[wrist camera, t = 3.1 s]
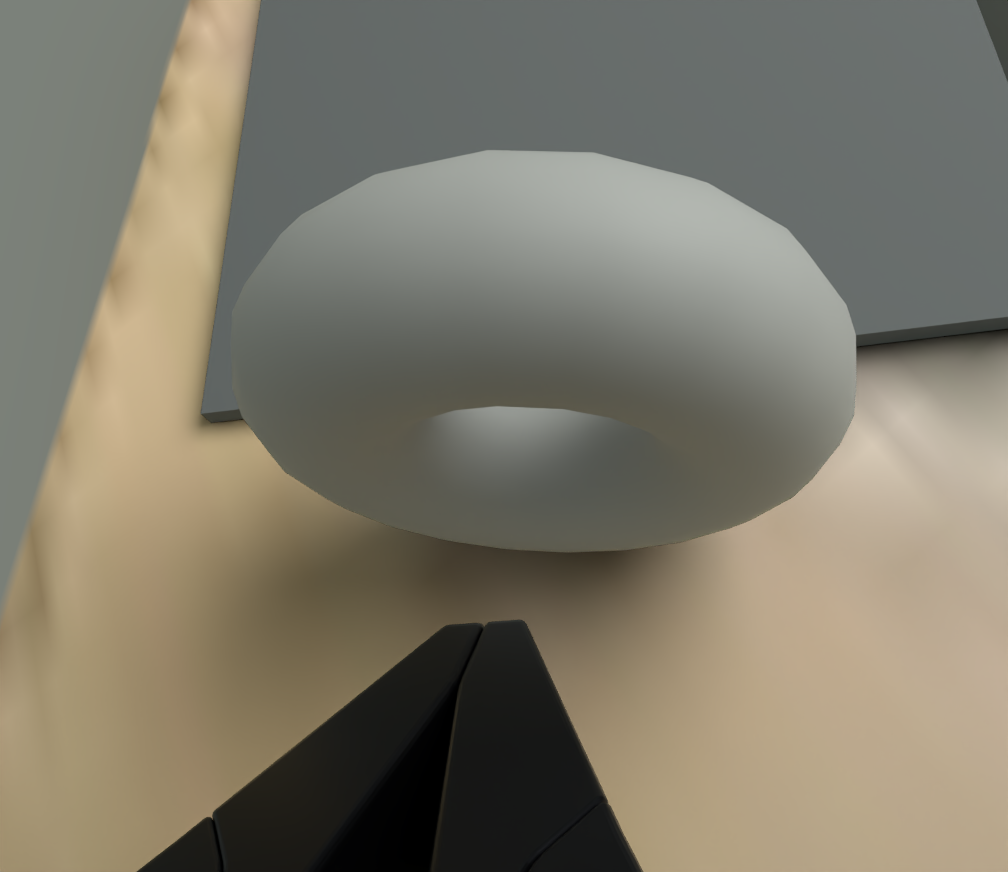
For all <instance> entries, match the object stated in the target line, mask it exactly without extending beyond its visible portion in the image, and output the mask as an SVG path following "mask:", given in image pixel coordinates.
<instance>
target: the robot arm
mask: <svg viewBox="0 0 1008 872" xmlns="http://www.w3.org/2000/svg"><path fill="white" fill-rule="evenodd" d="M212 817H213V819H212V818H210V817H206V818H204V819H203V820H202V821H201V822H199V823H198V824H197V825H196V826H194V827H193V828H192V829H191V830H189V831H188V832H187V833H186V834H184V835H183V836H182V837H181V838H179V839H178V840H177V841H176V842H174V843H173V844H172V845H171V846H169V847H168V848H167V849H165V850H164V851H163V852H162V853H160V854H159V855H158V856H156V857H155V858H154V859H152V860H151V861H150V862H149V863H147V864H146V865H145V866H143V867H142V868H141V869H139V870H138V871H137V872H643V870H642V868H641V866H640V865H639V863H638V861H637V859H636V857H635V855H634V853H633V851H632V849H631V847H630V845H629V843H628V841H627V840H626V838H625V836H624V834H623V832H622V830H621V827H620V825H619V823H618V821H617V819H616V817H615V814H614V812H613V810H612V808H611V806H610V805H609V804H608V800H607V798H606V796H605V794H604V792H603V789H602V787H601V785H600V783H599V781H598V779H597V776H596V774H595V772H594V770H593V768H592V766H591V763H590V761H589V759H588V757H587V755H586V752H585V750H584V748H583V746H582V744H581V742H580V739H579V737H578V735H577V733H576V731H575V729H574V726H573V724H572V722H571V720H570V718H569V715H568V713H567V711H566V709H565V707H564V705H563V702H562V700H561V698H560V696H559V694H558V691H557V689H556V687H555V685H554V683H553V681H552V678H551V676H550V674H549V672H548V670H547V668H546V665H545V663H544V661H543V659H542V657H541V654H540V652H539V650H538V648H537V646H536V644H535V641H534V639H533V637H532V635H531V633H530V631H529V628H528V626H527V624H526V623H525V622H524V621H522V620H509V621H495V622H489V623H487V624H486V625H485V627H484V626H483V625H482V624H480V623H468V624H454V625H447V626H445V627H443V628H442V629H440V630H439V631H438V632H437V633H435V634H434V635H433V636H432V637H430V638H429V639H428V640H427V641H425V642H424V643H423V644H422V645H420V646H419V647H418V648H417V649H415V650H414V651H413V652H412V653H410V654H409V655H408V656H407V657H405V658H404V659H403V660H402V661H400V662H399V663H398V664H397V665H395V666H394V667H393V668H392V669H390V670H389V671H388V672H387V673H385V674H384V675H383V676H382V677H380V678H379V679H378V680H377V681H375V682H374V683H373V684H372V685H370V686H369V687H368V688H367V689H366V690H364V691H363V692H362V693H361V694H359V695H358V696H357V697H356V698H354V699H353V700H352V701H351V702H349V703H348V704H347V705H346V706H344V707H343V708H342V709H341V710H339V711H338V712H337V713H336V714H334V715H333V716H332V717H331V718H329V719H328V720H327V721H326V722H324V723H323V724H322V725H321V726H319V727H318V728H317V729H316V730H314V731H313V732H312V733H311V734H309V735H308V736H307V737H306V738H304V739H303V740H302V741H301V742H299V743H298V744H297V745H296V746H294V747H293V748H292V749H291V750H289V751H288V752H287V753H286V754H284V755H283V756H282V757H281V758H279V759H278V760H277V761H276V762H274V763H273V764H272V765H271V766H269V767H268V768H267V769H266V770H264V771H263V772H262V773H261V774H259V775H258V776H257V777H256V778H254V779H253V780H252V781H251V782H250V783H248V784H247V785H246V786H245V787H243V788H242V789H241V790H240V791H238V792H237V793H236V794H235V795H233V796H232V797H231V798H230V799H228V800H227V801H226V802H225V803H223V804H222V805H221V806H220V807H218V808H217V809H216V810H215V811H214V812H213V815H212Z"/></svg>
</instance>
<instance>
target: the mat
mask: <svg viewBox="0 0 1008 872" xmlns="http://www.w3.org/2000/svg"><path fill="white" fill-rule="evenodd" d="M486 150H510V151H553V152H594V153H598V154H602V155H605V156H609V157H613V158H617V159H621V160H625V161H629V162H633V163H637V164H641V165H645V166H648V167H652V168H656V169H660V170H664V171H668V172H672V173H676V174H680V175H684V176H688V177H691V178H694V179H697V180H700V181H703V182H707V183H709V184H711V185H712V186H714V187H716V188H718V189H719V190H721V191H723V192H725V193H726V194H728V195H730V196H731V197H733V198H735V199H737V200H738V201H740V202H742V203H744V204H745V205H747V206H749V207H750V208H752V209H754V210H756V211H757V212H759V213H761V214H763V215H764V216H766V217H768V218H769V219H771V220H773V221H775V222H776V223H778V224H780V225H782V226H783V227H785V228H787V229H788V230H789V232H790V233H791V234H792V235H793V236H794V237H795V239H796V240H797V241H798V242H799V243H800V244H801V245H802V247H803V248H804V249H805V250H806V251H807V253H808V254H809V255H810V257H811V258H812V259H813V261H814V262H815V263H816V265H817V266H818V267H819V269H820V270H821V271H822V273H823V274H824V275H825V277H826V278H827V279H828V281H829V282H830V284H831V285H832V286H833V288H834V289H835V290H836V292H837V293H838V294H839V296H840V297H841V298H842V300H843V301H844V302H845V304H846V305H847V308H848V311H849V314H850V318H851V321H852V324H853V327H854V330H855V334H856V346H864V345H873V344H881V343H890V342H898V341H907V340H915V339H924V338H932V337H941V336H949V335H957V334H966V333H974V332H983V331H991V330H1000V329H1008V82H1007V80H1006V77H1005V74H1004V72H1003V69H1002V66H1001V64H1000V61H999V59H998V56H997V53H996V51H995V48H994V46H993V43H992V40H991V38H990V35H989V33H988V30H987V27H986V25H985V22H984V20H983V17H982V14H981V12H980V9H979V6H978V4H977V1H976V0H261V5H260V12H259V19H258V26H257V33H256V40H255V46H254V53H253V60H252V67H251V74H250V81H249V88H248V94H247V101H246V108H245V115H244V122H243V129H242V135H241V142H240V149H239V156H238V163H237V170H236V177H235V183H234V190H233V197H232V204H231V211H230V218H229V224H228V231H227V238H226V245H225V252H224V259H223V266H222V272H221V279H220V286H219V293H218V300H217V307H216V313H215V320H214V327H213V334H212V341H211V348H210V354H209V361H208V368H207V375H206V382H205V389H204V396H203V402H202V409H201V414H202V415H203V416H204V417H205V418H206V419H207V420H209V421H210V422H211V423H212V422H221V421H229V420H238V419H243V418H242V416H241V413H240V410H239V407H238V404H237V401H236V398H235V395H234V392H233V389H232V362H231V329H232V311H233V309H234V307H235V304H236V302H237V300H238V298H239V295H240V293H241V291H242V289H243V286H244V284H245V283H246V281H247V280H248V278H249V277H250V276H251V274H252V273H253V272H254V270H255V269H256V267H257V266H258V265H259V263H260V262H261V260H262V259H263V258H264V256H265V255H266V254H267V252H268V251H269V249H270V248H271V247H272V245H273V244H274V242H275V241H276V240H277V238H278V237H279V235H280V234H281V233H282V232H283V231H284V230H285V229H287V228H288V227H289V226H290V225H291V224H292V223H293V222H294V221H295V220H296V219H297V218H298V217H299V216H300V215H302V214H303V213H305V212H307V211H309V210H311V209H313V208H314V207H316V206H318V205H320V204H322V203H323V202H325V201H327V200H329V199H331V198H333V197H334V196H336V195H338V194H340V193H342V192H343V191H345V190H347V189H349V188H351V187H353V186H354V185H356V184H358V183H360V182H362V181H363V180H365V179H367V178H369V177H371V176H373V175H375V174H379V173H383V172H387V171H392V170H396V169H401V168H405V167H410V166H415V165H420V164H424V163H429V162H434V161H438V160H443V159H448V158H453V157H457V156H462V155H467V154H471V153H476V152H481V151H486Z"/></svg>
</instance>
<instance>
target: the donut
mask: <svg viewBox="0 0 1008 872" xmlns="http://www.w3.org/2000/svg"><path fill="white" fill-rule="evenodd" d="M231 362H232V389H233V392H234V395H235V398H236V401H237V404H238V407H239V410H240V413H241V416H242V418H243V419H244V420H245V422H246V423H247V424H248V425H249V427H250V428H251V429H252V431H253V432H254V433H255V435H256V436H257V437H258V439H259V440H260V441H261V443H262V444H263V445H264V447H265V448H266V449H267V451H268V452H269V453H270V454H271V456H272V457H273V458H274V459H275V460H276V462H277V463H278V464H279V465H280V467H281V468H282V469H283V470H284V471H285V472H286V473H287V474H289V475H290V476H292V477H293V478H295V479H297V480H298V481H300V482H301V483H303V484H304V485H306V486H307V487H309V488H311V489H312V490H314V491H315V492H317V493H318V494H320V495H321V496H323V497H325V498H326V499H328V500H330V501H332V502H334V503H335V504H337V505H339V506H341V507H343V508H345V509H347V510H350V511H352V512H355V513H358V514H360V515H363V516H365V517H368V518H370V519H373V520H375V521H378V522H380V523H383V524H386V525H388V526H391V527H394V528H398V529H402V530H406V531H410V532H414V533H418V534H422V535H426V536H430V537H434V538H438V539H442V540H446V541H453V542H460V543H466V544H473V545H480V546H487V547H494V548H501V549H512V550H530V551H548V552H591V551H619V550H630V549H637V548H645V547H652V546H659V545H666V544H673V543H680V542H684V541H687V540H691V539H694V538H698V537H701V536H705V535H708V534H712V533H715V532H718V531H722V530H725V529H729V528H732V527H734V526H737V525H740V524H742V523H745V522H748V521H750V520H752V519H754V518H756V517H757V516H759V515H761V514H763V513H765V512H767V511H768V510H770V509H772V508H774V507H776V506H778V505H780V504H781V503H783V502H785V501H787V500H789V499H791V498H792V497H794V496H795V495H796V494H797V493H798V492H799V491H800V490H801V489H802V488H803V487H804V486H805V485H806V484H808V483H809V482H810V481H811V480H812V479H813V478H814V476H815V475H816V474H817V473H818V471H819V470H820V469H821V467H822V466H823V465H824V464H825V462H826V461H827V460H828V459H829V457H830V456H831V455H832V454H833V452H834V451H835V450H836V448H837V447H838V446H839V445H840V443H841V441H842V439H843V437H844V435H845V433H846V431H847V429H848V427H849V425H850V423H851V421H852V419H853V417H854V408H855V396H856V334H855V330H854V327H853V324H852V321H851V318H850V314H849V311H848V308H847V305H846V304H845V302H844V301H843V300H842V298H841V297H840V296H839V294H838V293H837V292H836V290H835V289H834V288H833V286H832V285H831V284H830V282H829V281H828V279H827V278H826V277H825V275H824V274H823V273H822V271H821V270H820V269H819V267H818V266H817V265H816V263H815V262H814V261H813V259H812V258H811V257H810V255H809V254H808V253H807V251H806V250H805V249H804V248H803V247H802V245H801V244H800V243H799V242H798V241H797V240H796V239H795V237H794V236H793V235H792V234H791V233H790V232H789V230H788V229H787V228H785V227H783V226H782V225H780V224H778V223H776V222H775V221H773V220H771V219H769V218H768V217H766V216H764V215H763V214H761V213H759V212H757V211H756V210H754V209H752V208H750V207H749V206H747V205H745V204H744V203H742V202H740V201H738V200H737V199H735V198H733V197H731V196H730V195H728V194H726V193H725V192H723V191H721V190H719V189H718V188H716V187H714V186H712V185H711V184H709V183H707V182H703V181H700V180H697V179H694V178H691V177H688V176H684V175H680V174H676V173H672V172H668V171H664V170H660V169H656V168H652V167H648V166H645V165H641V164H637V163H633V162H629V161H625V160H621V159H617V158H613V157H609V156H605V155H602V154H598V153H594V152H553V151H510V150H486V151H481V152H476V153H471V154H467V155H462V156H457V157H453V158H448V159H443V160H438V161H434V162H429V163H424V164H420V165H415V166H410V167H405V168H401V169H396V170H392V171H387V172H383V173H379V174H375V175H373V176H371V177H369V178H367V179H365V180H363V181H362V182H360V183H358V184H356V185H354V186H353V187H351V188H349V189H347V190H345V191H343V192H342V193H340V194H338V195H336V196H334V197H333V198H331V199H329V200H327V201H325V202H323V203H322V204H320V205H318V206H316V207H314V208H313V209H311V210H309V211H307V212H305V213H303V214H302V215H300V216H299V217H298V218H297V219H296V220H295V221H294V222H293V223H292V224H291V225H290V226H289V227H288V228H287V229H285V230H284V231H283V232H282V233H281V234H280V235H279V237H278V238H277V240H276V241H275V242H274V244H273V245H272V247H271V248H270V249H269V251H268V252H267V254H266V255H265V256H264V258H263V259H262V260H261V262H260V263H259V265H258V266H257V267H256V269H255V270H254V272H253V273H252V274H251V276H250V277H249V278H248V280H247V281H246V283H245V284H244V286H243V289H242V291H241V293H240V295H239V298H238V300H237V302H236V304H235V307H234V309H233V311H232V329H231Z"/></svg>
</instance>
